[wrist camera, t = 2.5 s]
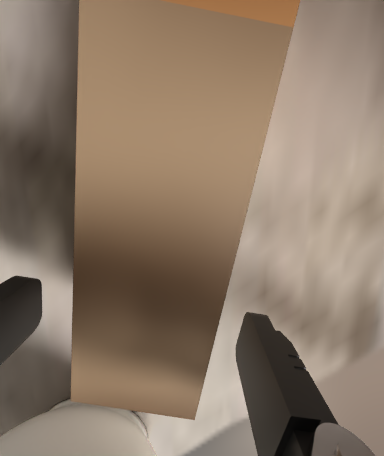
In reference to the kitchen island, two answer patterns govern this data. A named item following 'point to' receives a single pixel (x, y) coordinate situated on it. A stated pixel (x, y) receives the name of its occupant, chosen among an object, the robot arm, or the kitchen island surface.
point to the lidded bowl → (79, 433)
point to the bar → (164, 186)
